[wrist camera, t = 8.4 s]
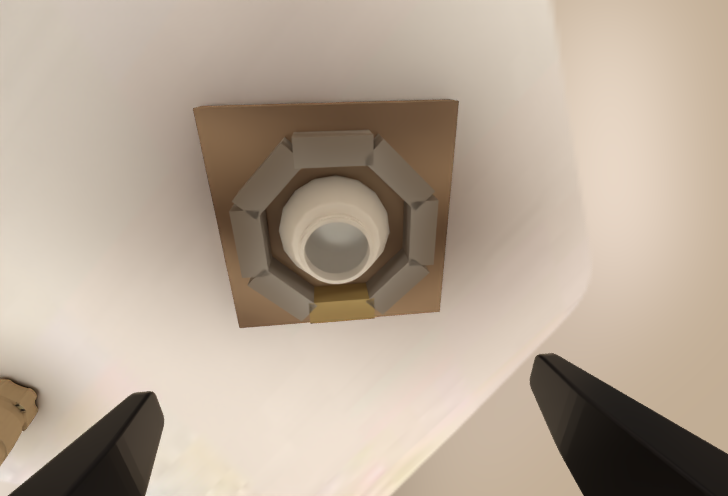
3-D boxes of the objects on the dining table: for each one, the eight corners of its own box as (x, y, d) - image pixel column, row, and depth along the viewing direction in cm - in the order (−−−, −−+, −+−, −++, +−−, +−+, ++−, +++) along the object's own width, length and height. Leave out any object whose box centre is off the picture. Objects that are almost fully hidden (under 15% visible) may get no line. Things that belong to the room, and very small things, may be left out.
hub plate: (201, 105, 15) (179, 111, 13) (449, 99, 16) (471, 103, 14) (243, 314, 20) (233, 347, 18) (433, 299, 21) (447, 328, 19)
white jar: (406, 213, 17) (320, 151, 16) (422, 238, 15) (321, 166, 13) (345, 286, 19) (261, 237, 17) (350, 321, 16) (250, 267, 14)
